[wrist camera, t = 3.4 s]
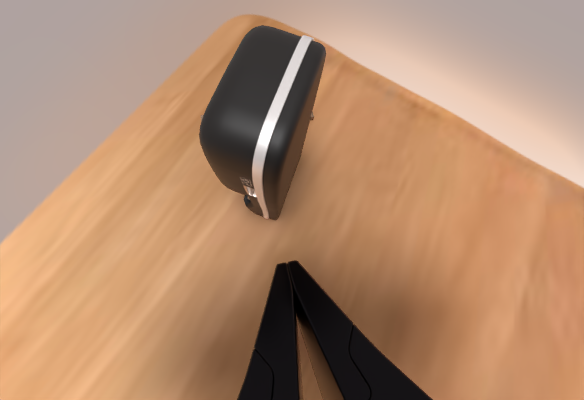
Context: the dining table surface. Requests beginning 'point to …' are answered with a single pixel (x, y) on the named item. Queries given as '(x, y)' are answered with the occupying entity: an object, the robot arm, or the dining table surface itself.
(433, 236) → the dining table surface
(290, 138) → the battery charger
